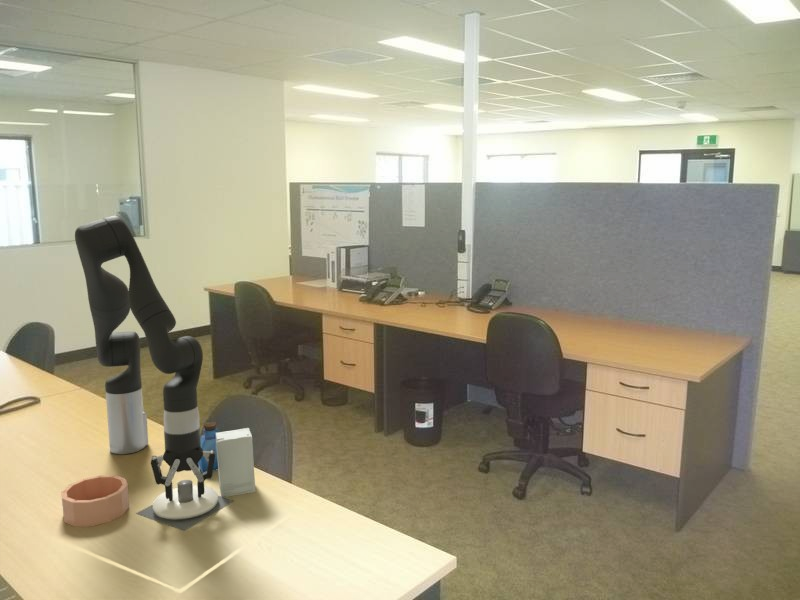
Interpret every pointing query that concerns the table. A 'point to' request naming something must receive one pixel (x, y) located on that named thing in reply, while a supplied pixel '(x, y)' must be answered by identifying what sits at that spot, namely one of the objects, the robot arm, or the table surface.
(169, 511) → the lid
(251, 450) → the skincare box
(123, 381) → the robot arm
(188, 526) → the mat
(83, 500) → the bowl
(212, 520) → the table surface
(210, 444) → the perfume bottle
